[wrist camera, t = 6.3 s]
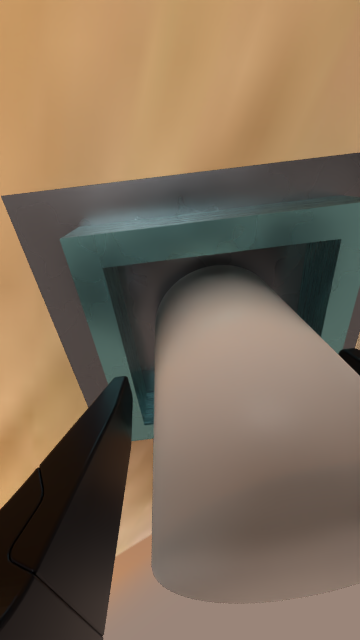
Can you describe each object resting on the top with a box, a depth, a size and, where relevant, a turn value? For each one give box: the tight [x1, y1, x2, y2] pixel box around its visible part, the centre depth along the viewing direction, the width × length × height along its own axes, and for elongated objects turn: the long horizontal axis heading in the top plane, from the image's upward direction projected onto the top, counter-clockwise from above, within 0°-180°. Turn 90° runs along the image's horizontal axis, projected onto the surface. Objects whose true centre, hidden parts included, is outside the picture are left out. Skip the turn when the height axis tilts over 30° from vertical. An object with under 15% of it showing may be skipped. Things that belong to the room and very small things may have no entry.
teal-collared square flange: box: [1, 153, 360, 441], centre depth 12 cm, size 14×12×5 cm
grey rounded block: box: [152, 265, 360, 604], centre depth 8 cm, size 6×7×8 cm
